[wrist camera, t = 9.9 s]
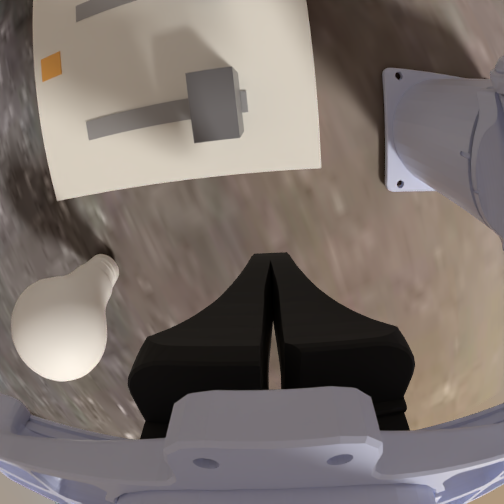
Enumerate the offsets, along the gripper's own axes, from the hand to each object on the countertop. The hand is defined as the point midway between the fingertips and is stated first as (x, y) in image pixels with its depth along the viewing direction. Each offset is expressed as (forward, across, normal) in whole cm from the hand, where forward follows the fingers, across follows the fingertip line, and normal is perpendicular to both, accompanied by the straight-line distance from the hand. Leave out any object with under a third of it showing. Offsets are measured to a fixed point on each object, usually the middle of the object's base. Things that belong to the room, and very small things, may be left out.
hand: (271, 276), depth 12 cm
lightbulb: (+9, +12, +4) cm, 16 cm away
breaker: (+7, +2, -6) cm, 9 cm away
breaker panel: (+9, +6, -14) cm, 18 cm away
